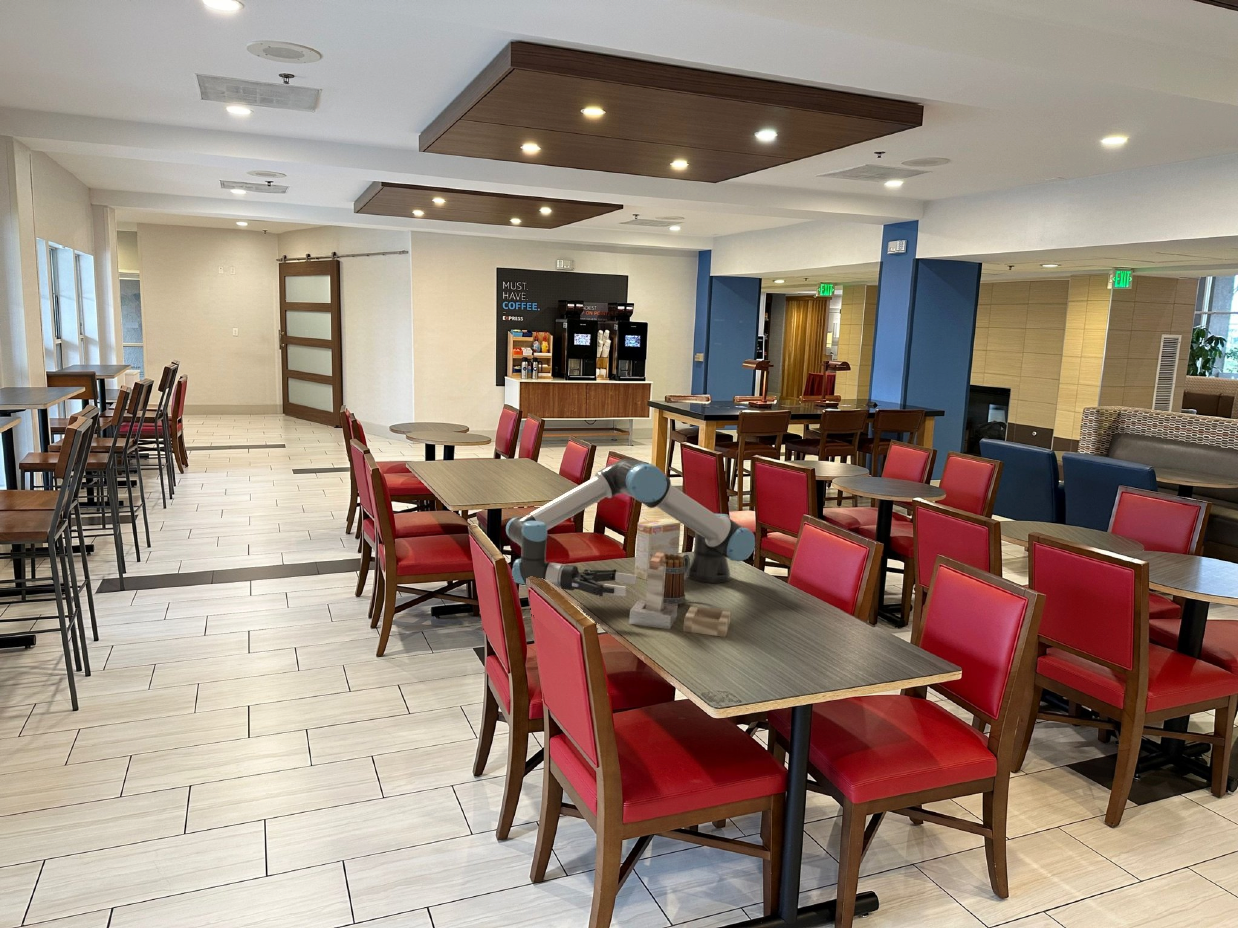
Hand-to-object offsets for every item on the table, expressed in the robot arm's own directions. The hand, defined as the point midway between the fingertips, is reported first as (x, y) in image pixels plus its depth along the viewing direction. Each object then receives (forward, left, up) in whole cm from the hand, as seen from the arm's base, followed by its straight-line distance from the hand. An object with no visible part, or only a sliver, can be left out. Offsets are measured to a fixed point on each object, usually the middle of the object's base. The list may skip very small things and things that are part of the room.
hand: (631, 585), depth 247 cm
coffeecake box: (-49, -2, -10) cm, 50 cm away
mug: (-21, +9, -10) cm, 25 cm away
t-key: (0, +7, -10) cm, 12 cm away
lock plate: (0, +7, -10) cm, 12 cm away
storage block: (0, +23, -10) cm, 25 cm away
